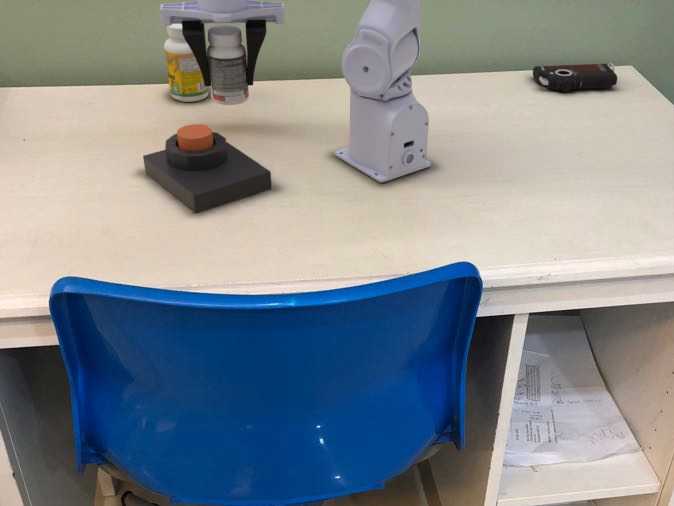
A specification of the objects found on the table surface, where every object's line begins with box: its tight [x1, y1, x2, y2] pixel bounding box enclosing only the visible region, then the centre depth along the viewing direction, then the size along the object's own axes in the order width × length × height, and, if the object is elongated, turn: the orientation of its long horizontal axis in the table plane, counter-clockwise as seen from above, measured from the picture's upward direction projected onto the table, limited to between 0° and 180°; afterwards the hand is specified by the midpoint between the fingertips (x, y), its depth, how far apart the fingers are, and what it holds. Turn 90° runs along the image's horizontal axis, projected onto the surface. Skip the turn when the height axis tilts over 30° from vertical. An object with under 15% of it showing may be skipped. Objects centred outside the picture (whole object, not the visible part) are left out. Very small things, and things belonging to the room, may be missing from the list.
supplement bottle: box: [163, 24, 210, 103], centre depth 118 cm, size 5×5×10 cm
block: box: [142, 131, 272, 214], centre depth 100 cm, size 12×10×4 cm
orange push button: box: [176, 123, 214, 151], centre depth 100 cm, size 4×4×2 cm
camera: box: [532, 62, 618, 93], centre depth 126 cm, size 6×3×11 cm
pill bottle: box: [206, 24, 250, 106], centre depth 107 cm, size 5×5×8 cm
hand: (228, 83), depth 109 cm, fingers closed on pill bottle, 5 cm apart
